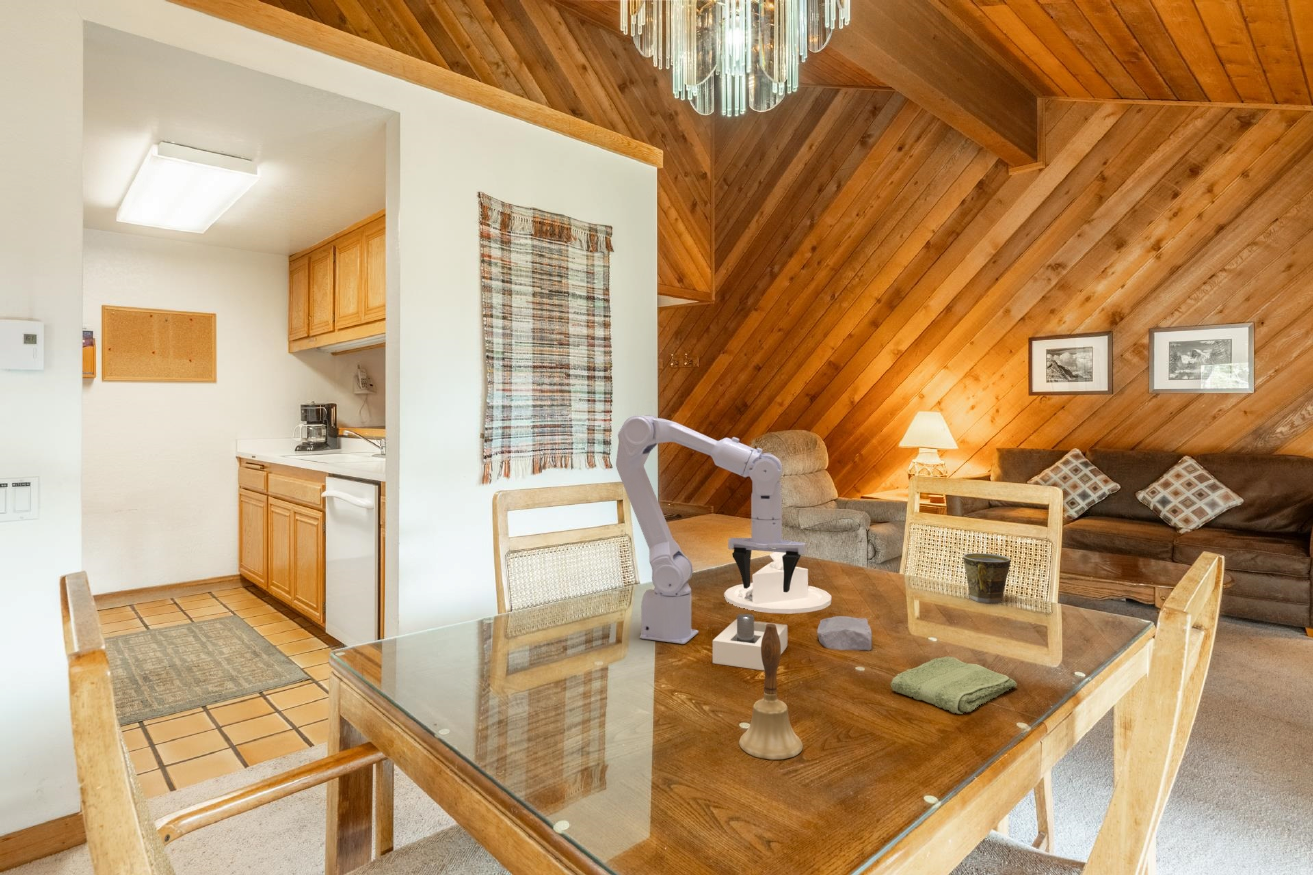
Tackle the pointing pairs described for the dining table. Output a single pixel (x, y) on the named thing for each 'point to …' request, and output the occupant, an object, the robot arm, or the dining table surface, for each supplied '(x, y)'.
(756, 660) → the hole block
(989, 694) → the washcloth
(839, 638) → the stone block
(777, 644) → the hand bell
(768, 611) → the dish
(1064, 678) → the dining table surface
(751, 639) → the peg
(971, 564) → the ceramic cup
